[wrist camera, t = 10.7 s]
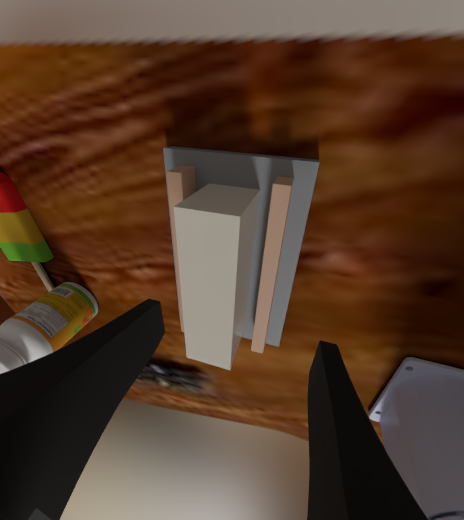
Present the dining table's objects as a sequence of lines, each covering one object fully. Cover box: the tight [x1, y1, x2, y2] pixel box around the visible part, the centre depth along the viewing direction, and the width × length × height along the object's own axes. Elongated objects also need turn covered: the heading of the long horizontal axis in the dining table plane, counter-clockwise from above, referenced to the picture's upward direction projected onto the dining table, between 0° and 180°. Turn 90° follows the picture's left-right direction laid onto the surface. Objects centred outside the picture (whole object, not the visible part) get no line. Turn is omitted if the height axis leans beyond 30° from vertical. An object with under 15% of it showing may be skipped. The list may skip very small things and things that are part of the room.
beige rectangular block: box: [174, 183, 260, 370], centre depth 17 cm, size 12×4×5 cm, turn 177°
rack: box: [163, 146, 319, 354], centre depth 19 cm, size 16×10×3 cm, turn 178°
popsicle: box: [0, 172, 54, 292], centre depth 26 cm, size 6×15×2 cm, turn 7°
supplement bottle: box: [0, 282, 98, 374], centre depth 25 cm, size 5×5×10 cm
